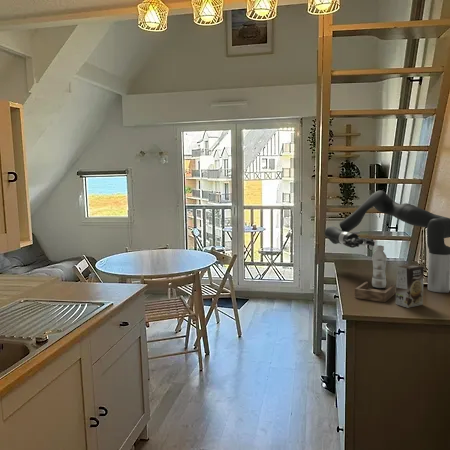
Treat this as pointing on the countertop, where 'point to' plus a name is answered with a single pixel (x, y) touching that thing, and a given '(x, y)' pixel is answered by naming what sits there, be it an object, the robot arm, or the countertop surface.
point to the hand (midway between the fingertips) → (366, 244)
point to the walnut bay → (374, 293)
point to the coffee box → (409, 285)
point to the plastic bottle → (379, 268)
